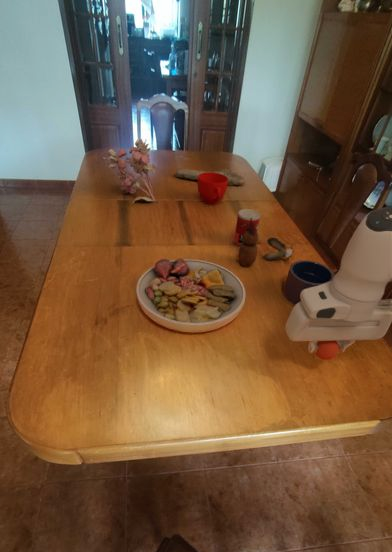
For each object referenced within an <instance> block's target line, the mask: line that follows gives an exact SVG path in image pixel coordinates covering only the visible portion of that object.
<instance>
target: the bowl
mask: <svg viewBox="0 0 392 552" xmlns="http://www.w3.org/2000/svg"><path fill="white" fill-rule="evenodd" d="M135 289H136V290H135V292H136V298H137V303H138V304H139V306H140V309H141V310H142V311H143V312H144V314H145V315H146V316H147V317H148V318H149V319H151V321H153V322H155V323H156V324H158V325H160V326H162V327H164V328H167V329H169V330H172V331H175V332H176V331H177V332H183V333H205V332H210V331H214V330H218V329H220V328H222V327H224V326H227V325H228V324H230V323H231V322H233V321H234V319H235V318H237V317H238V315H239V314H240V313H241V312H242V309H243V307H244V305H245V301H246V295H247V294H246V287H245V286H244V284H243V281H241V279H240V278H239V277H238V276H237V275H236V274H235V273H234V272H232V271H231V270H229V269H228V268H225V267H224V266H221V265H219V264H217V263H214V262H212V261H211V262H210V261H207V260H202V259H201V260H200V259H192V258H191V259H189V258H187V259H186V258H185V259H184V258H177V259H173V260H170V259H167V258H163V259H159V260H158V261H156V262H155V264H154V266H152V267H150V268H149V269H147V270H146V271H145V272H144V273H143V274H142V275H141V276H140V277H139V279H138V281H137V283H136V288H135Z"/></svg>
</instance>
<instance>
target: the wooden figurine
mask: <svg viewBox="0 0 392 552" xmlns="http://www.w3.org/2000/svg"><path fill="white" fill-rule="evenodd" d="M254 229H255V226H254V221H253V222H252V218H251V219H250V223H249V228H248V231H246V232H245V234H244V237H243V242H242V243H241V245H240V247H238V248H239V249H238V263H239V264H240V265H241V266H242V267H245V268H248V267H251V266H253V264H254V263H255V261H256V259H257V256H258V255H257V254H258V246H257V243H258V241H259V240H258V239H259V234H258V231H257V232H255V231H256V230H254Z"/></svg>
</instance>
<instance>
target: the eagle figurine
mask: <svg viewBox="0 0 392 552" xmlns="http://www.w3.org/2000/svg"><path fill="white" fill-rule="evenodd" d="M266 242H267V244H268V246H270V247H271V248H273V249H275V250H277V251H276V252H270V253H266V254H264V255H263V256H262V257H263V259H264V260H266V261H271V260H281V259H283V258H284V257H285V258H286V260H287V261H289V260H290V257H291V258H292V254H293V253H294V252H295V251H294V250H293V247H294V243H292V244H291V246H290V248H287V246H286V244H285V243H283V242H282V241H280V240H279V238H277V237H269V238H267V240H266Z"/></svg>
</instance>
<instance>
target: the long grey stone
mask: <svg viewBox="0 0 392 552" xmlns="http://www.w3.org/2000/svg"><path fill="white" fill-rule="evenodd" d="M206 172H208V171H206V170H195V169H188V168H178V169H176V171H175V177H176V176H177V177H176V178H178V177H179V178H178V179H185V180H190V179H191V180H190V181H194V180H198V175H199V174H201V173H206ZM212 172H213V173H219V174H223V175H225V176H226V177H227V178H228V184H227V186H230V187H232V186H244V184H245V182H246V178H245V177H243V176H241V175H239V173H237V172H233V171H232V170H229V169H228V168H224V169H220V170H215V171H212Z"/></svg>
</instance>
